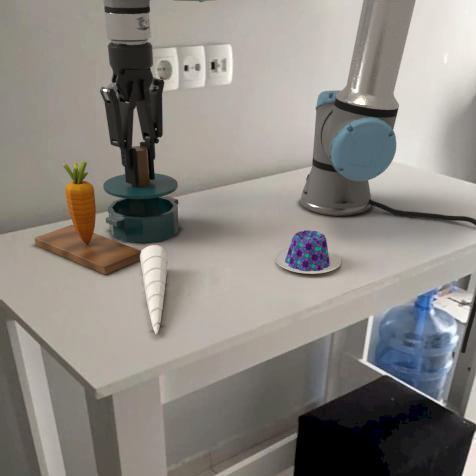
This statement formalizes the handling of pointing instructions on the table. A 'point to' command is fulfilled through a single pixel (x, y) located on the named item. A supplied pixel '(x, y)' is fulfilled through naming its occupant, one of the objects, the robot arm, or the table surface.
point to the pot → (143, 219)
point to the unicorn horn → (154, 280)
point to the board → (89, 250)
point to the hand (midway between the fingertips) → (140, 180)
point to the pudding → (308, 254)
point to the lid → (141, 181)
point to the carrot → (81, 202)
